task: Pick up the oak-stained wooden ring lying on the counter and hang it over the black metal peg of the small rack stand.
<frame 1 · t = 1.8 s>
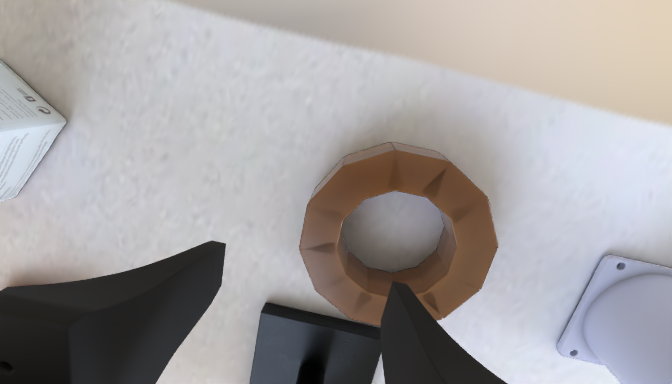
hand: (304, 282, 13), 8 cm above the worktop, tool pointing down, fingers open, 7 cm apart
ring: (391, 227, 21), on the worktop
cosmetic box: (11, 134, 22), on the worktop
rack: (313, 361, 25), on the worktop
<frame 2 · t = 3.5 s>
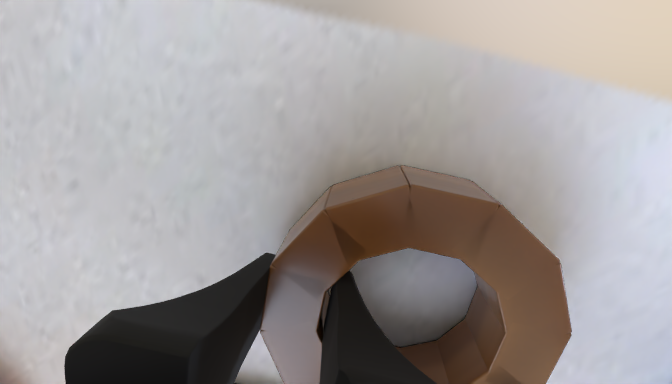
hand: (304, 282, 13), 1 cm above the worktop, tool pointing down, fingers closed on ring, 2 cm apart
ring: (399, 286, 15), on the worktop, touching gripper
when the fingers open (3 cm above the worktop, at t = 7.9 s): ring stays where it is, resting on rack.
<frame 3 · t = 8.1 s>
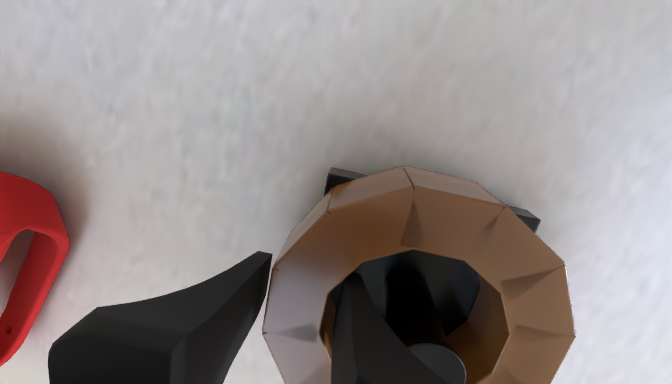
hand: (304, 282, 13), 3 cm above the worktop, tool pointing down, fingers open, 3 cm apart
ring: (402, 287, 15), point 1 cm above the worktop, touching rack
rack: (402, 273, 16), on the worktop
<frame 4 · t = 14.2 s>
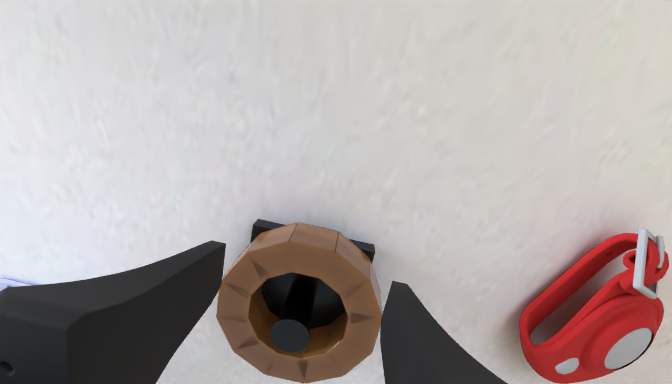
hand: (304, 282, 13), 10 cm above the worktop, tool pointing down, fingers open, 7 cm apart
ring: (305, 291, 24), point 1 cm above the worktop, touching rack
rack: (305, 282, 25), on the worktop
tracker holder: (592, 297, 24), on the worktop
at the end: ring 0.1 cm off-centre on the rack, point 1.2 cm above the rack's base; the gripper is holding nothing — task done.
